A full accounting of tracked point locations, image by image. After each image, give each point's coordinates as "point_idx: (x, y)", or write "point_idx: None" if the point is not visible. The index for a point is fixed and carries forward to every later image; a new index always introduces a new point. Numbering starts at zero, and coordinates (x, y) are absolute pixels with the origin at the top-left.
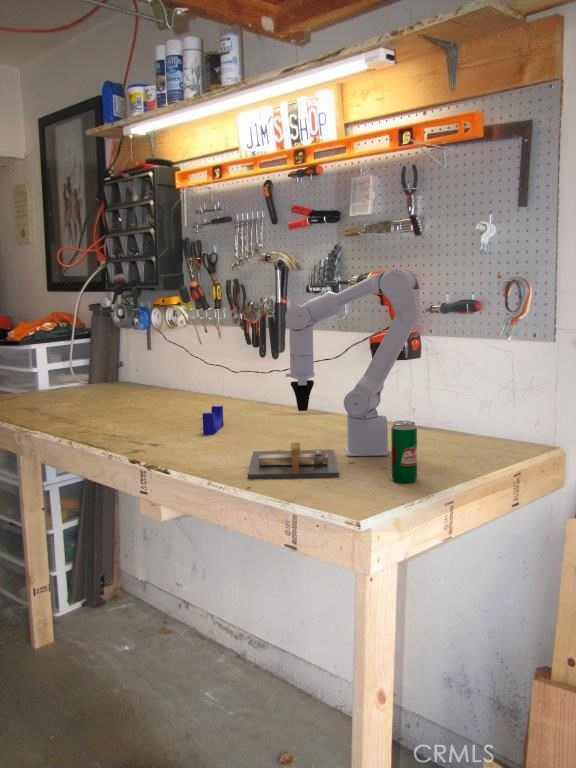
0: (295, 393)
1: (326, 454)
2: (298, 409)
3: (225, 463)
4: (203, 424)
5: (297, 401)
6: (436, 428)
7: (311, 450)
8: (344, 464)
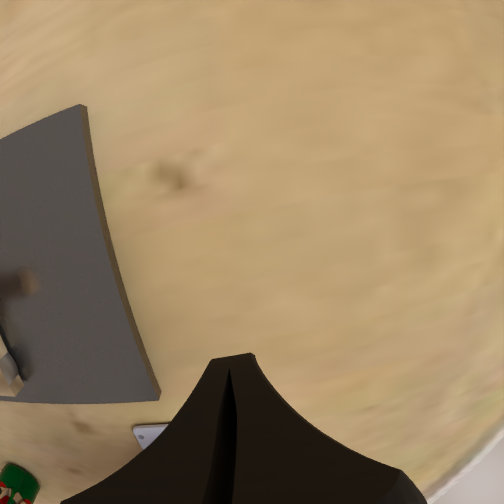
0: (139, 460)
1: (5, 393)
2: (209, 364)
3: (2, 64)
4: None
5: (186, 406)
6: (432, 495)
7: (128, 335)
8: (62, 413)
